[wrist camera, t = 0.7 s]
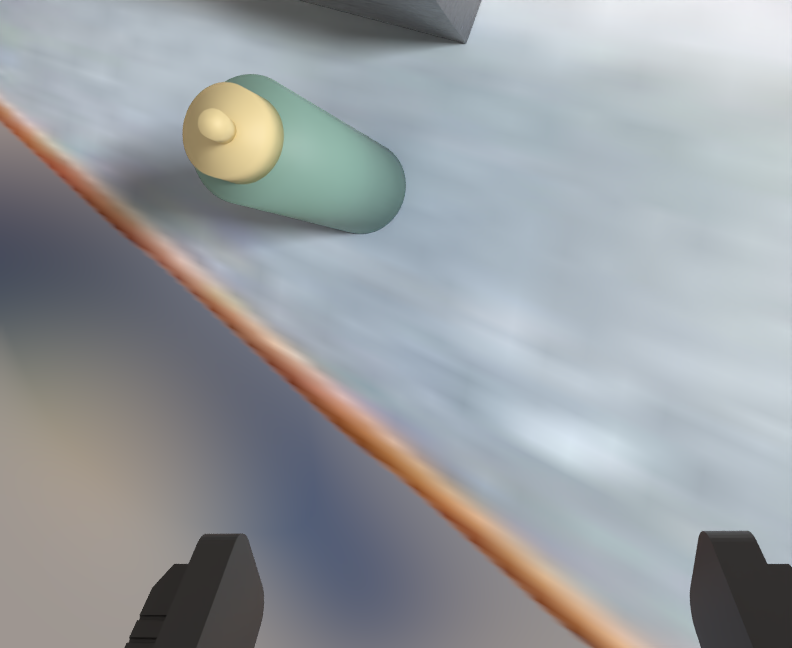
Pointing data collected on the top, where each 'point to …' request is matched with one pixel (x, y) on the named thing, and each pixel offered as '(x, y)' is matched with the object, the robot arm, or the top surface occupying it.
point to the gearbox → (415, 14)
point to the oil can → (290, 157)
